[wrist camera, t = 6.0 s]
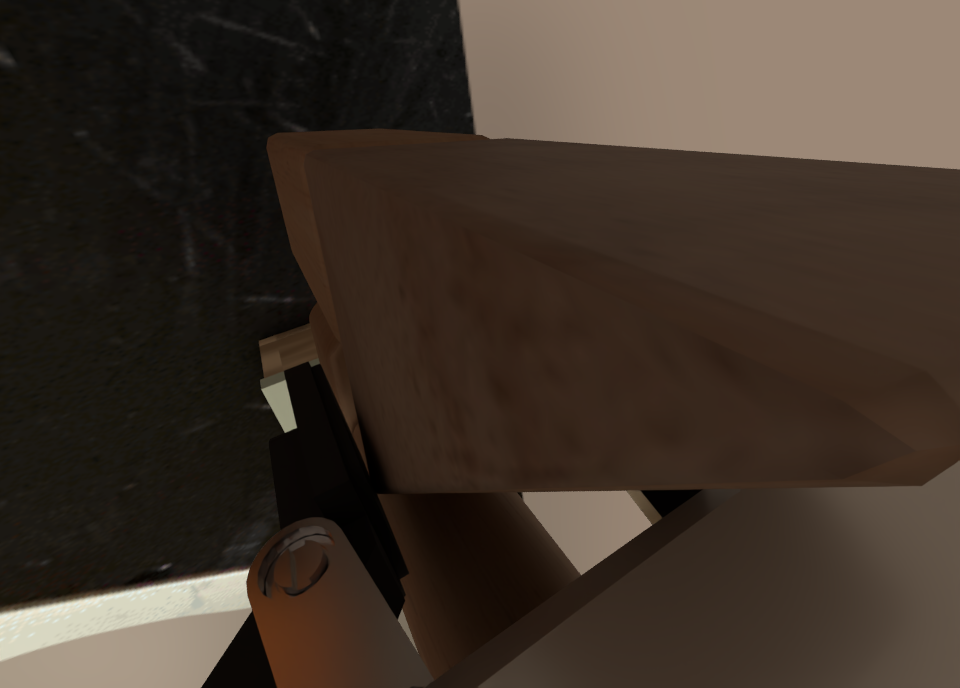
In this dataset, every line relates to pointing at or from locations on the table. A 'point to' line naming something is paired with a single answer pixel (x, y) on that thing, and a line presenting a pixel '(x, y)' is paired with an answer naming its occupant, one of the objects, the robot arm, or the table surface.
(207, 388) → the table surface
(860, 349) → the wooden pieces
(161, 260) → the table surface
